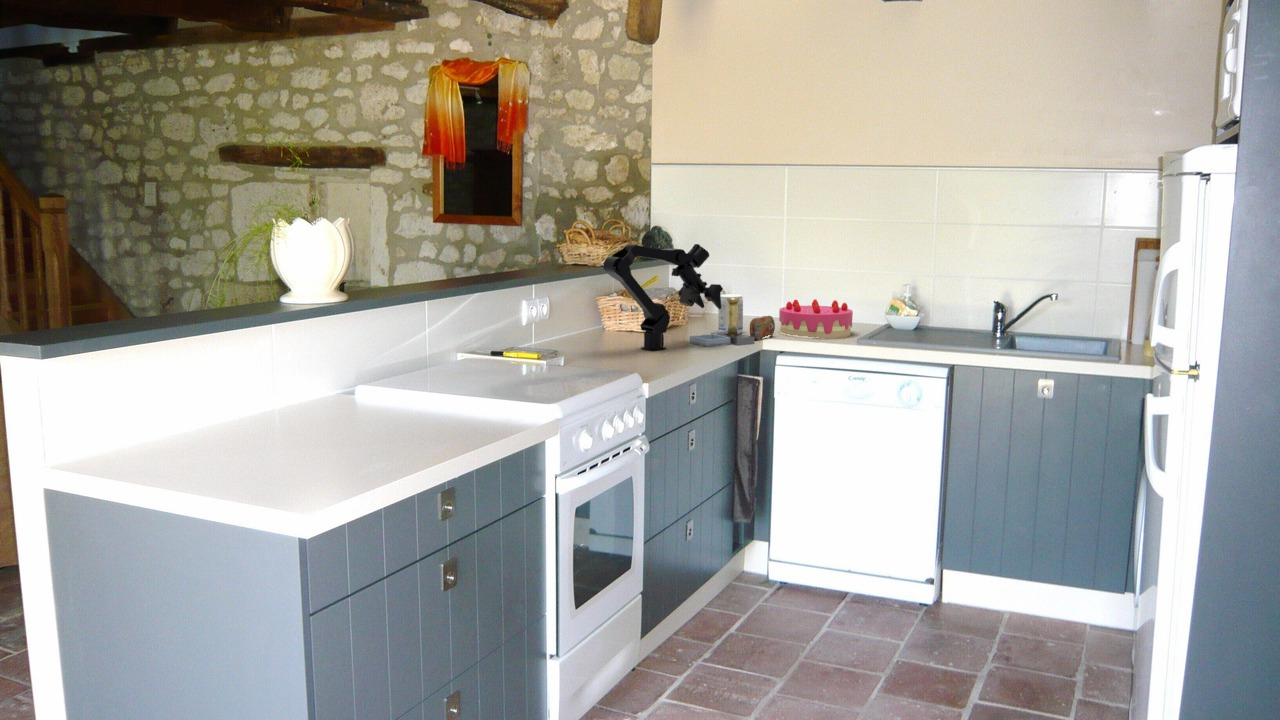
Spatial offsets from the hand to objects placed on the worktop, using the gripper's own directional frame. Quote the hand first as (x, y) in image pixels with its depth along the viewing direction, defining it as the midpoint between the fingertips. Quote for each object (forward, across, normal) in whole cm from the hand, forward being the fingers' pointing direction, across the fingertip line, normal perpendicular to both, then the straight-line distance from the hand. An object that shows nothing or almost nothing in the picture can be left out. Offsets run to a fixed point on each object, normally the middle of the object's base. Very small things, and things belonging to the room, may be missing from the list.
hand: (711, 308), depth 364 cm
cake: (+42, +5, +28) cm, 51 cm away
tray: (+9, 0, -10) cm, 13 cm away
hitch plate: (+15, +1, -2) cm, 16 cm away
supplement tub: (+25, -16, +10) cm, 31 cm away
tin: (+25, +2, +8) cm, 26 cm away
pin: (+16, +1, -2) cm, 16 cm away
